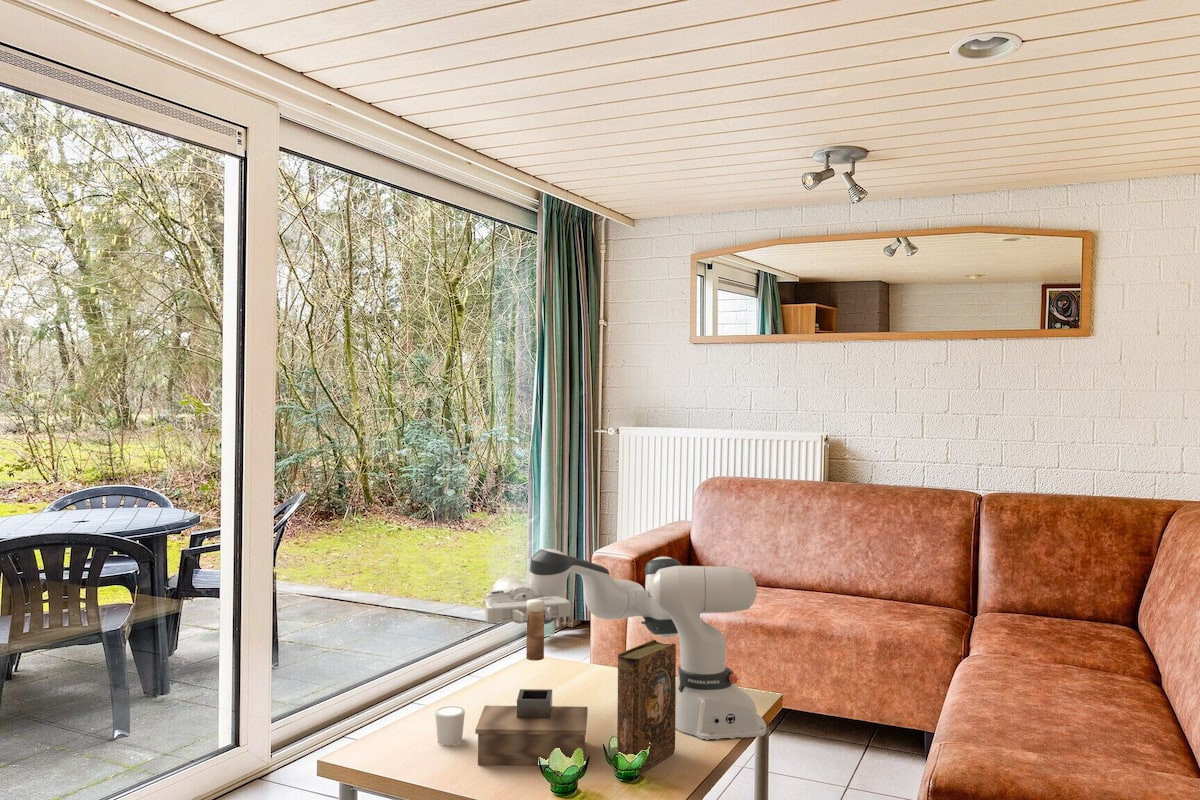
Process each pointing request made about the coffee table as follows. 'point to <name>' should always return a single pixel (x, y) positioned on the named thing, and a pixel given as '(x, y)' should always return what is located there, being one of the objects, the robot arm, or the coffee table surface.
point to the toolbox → (529, 730)
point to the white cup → (449, 724)
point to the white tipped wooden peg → (535, 630)
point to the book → (647, 701)
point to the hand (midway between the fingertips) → (536, 617)
